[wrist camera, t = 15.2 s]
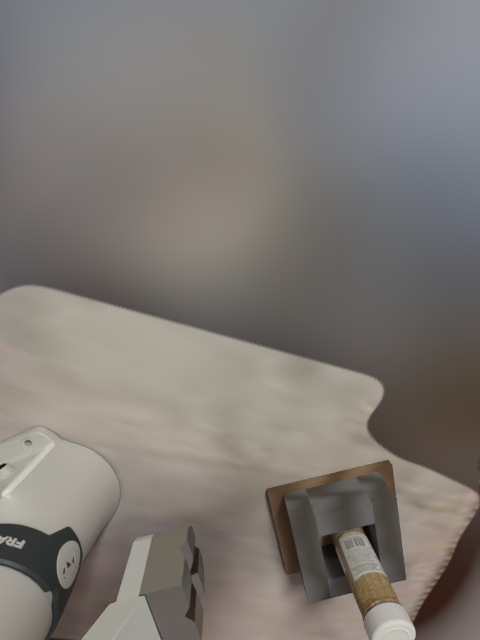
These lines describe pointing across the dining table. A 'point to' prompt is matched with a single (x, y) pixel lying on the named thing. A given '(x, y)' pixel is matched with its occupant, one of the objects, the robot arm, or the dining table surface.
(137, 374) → the dining table surface
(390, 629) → the sprinkles bottle
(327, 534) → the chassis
